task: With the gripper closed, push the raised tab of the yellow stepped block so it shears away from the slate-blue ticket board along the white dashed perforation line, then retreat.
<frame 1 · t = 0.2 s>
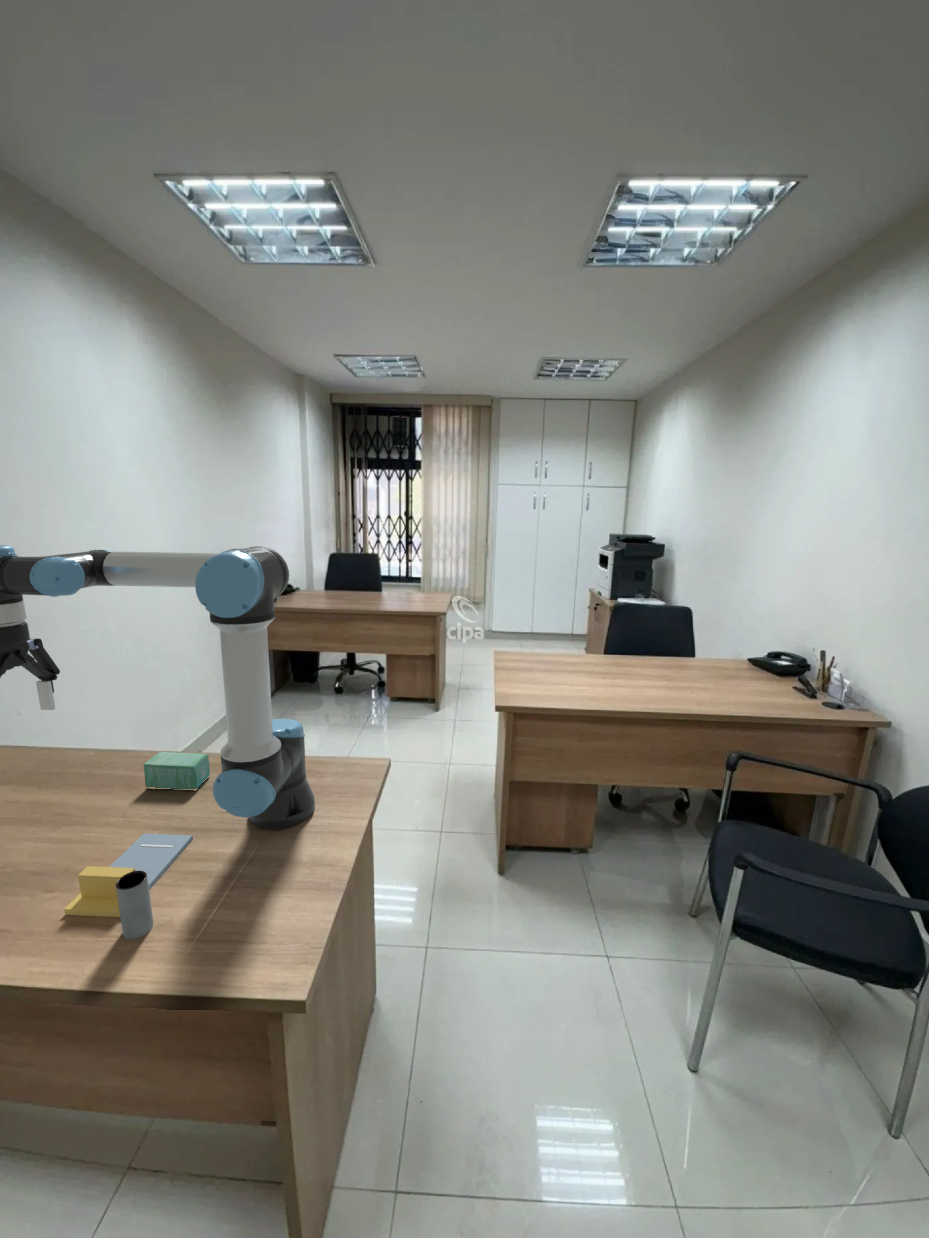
hand: (20, 722, 105), 28 cm above the table, fingers open, 13 cm apart
box: (179, 784, 134), on the table
ticket: (145, 864, 104), on the table
gray cylinder: (138, 931, 88), on the table
yellow stepped block: (104, 890, 93), point 3 cm above the table, slide at 0.0 cm
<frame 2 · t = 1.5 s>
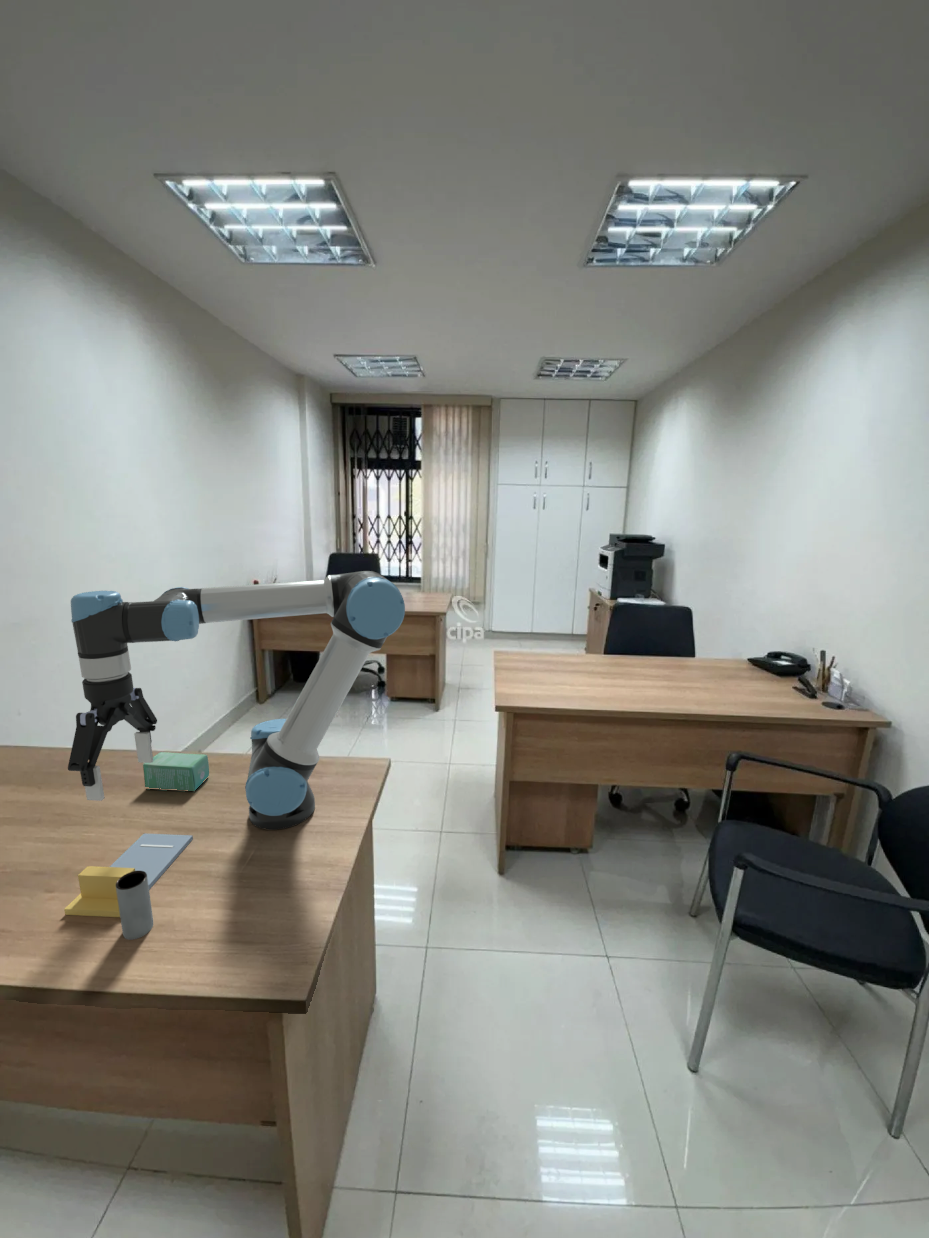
hand: (122, 779, 98), 21 cm above the table, fingers open, 13 cm apart
nothing on the table moved.
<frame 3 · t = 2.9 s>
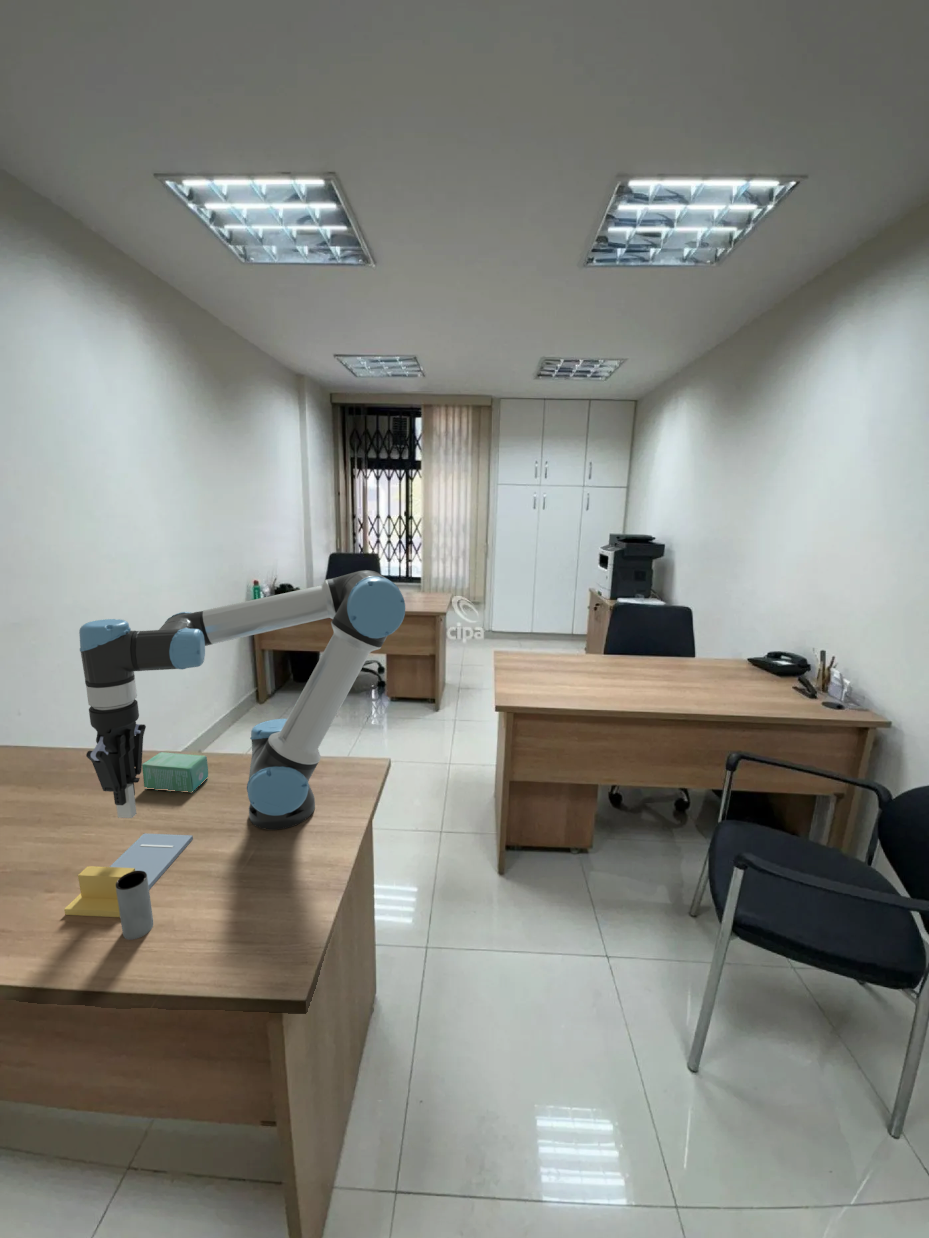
hand: (127, 815, 99), 13 cm above the table, fingers closed
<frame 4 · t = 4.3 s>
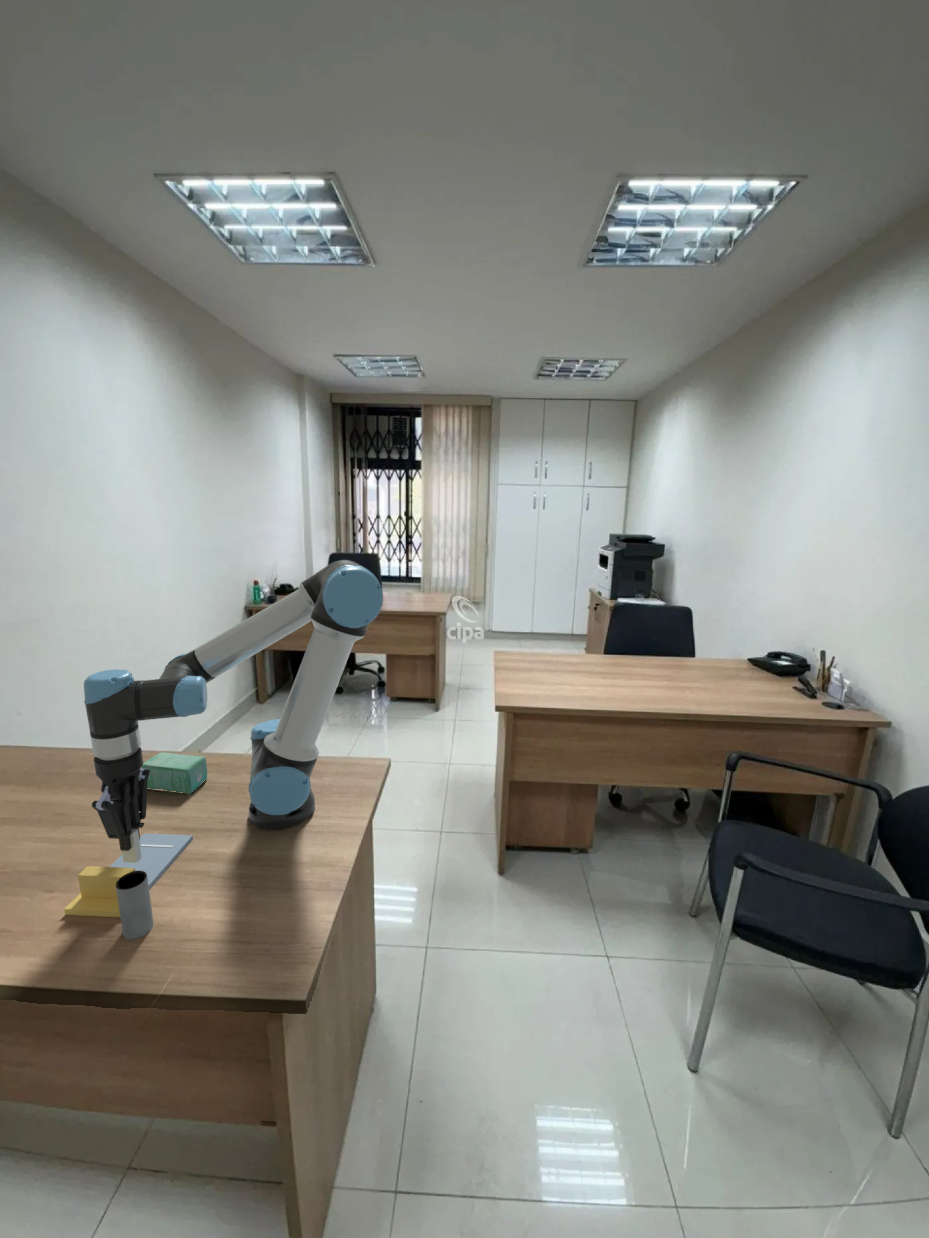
hand: (132, 859, 100), 3 cm above the table, fingers closed
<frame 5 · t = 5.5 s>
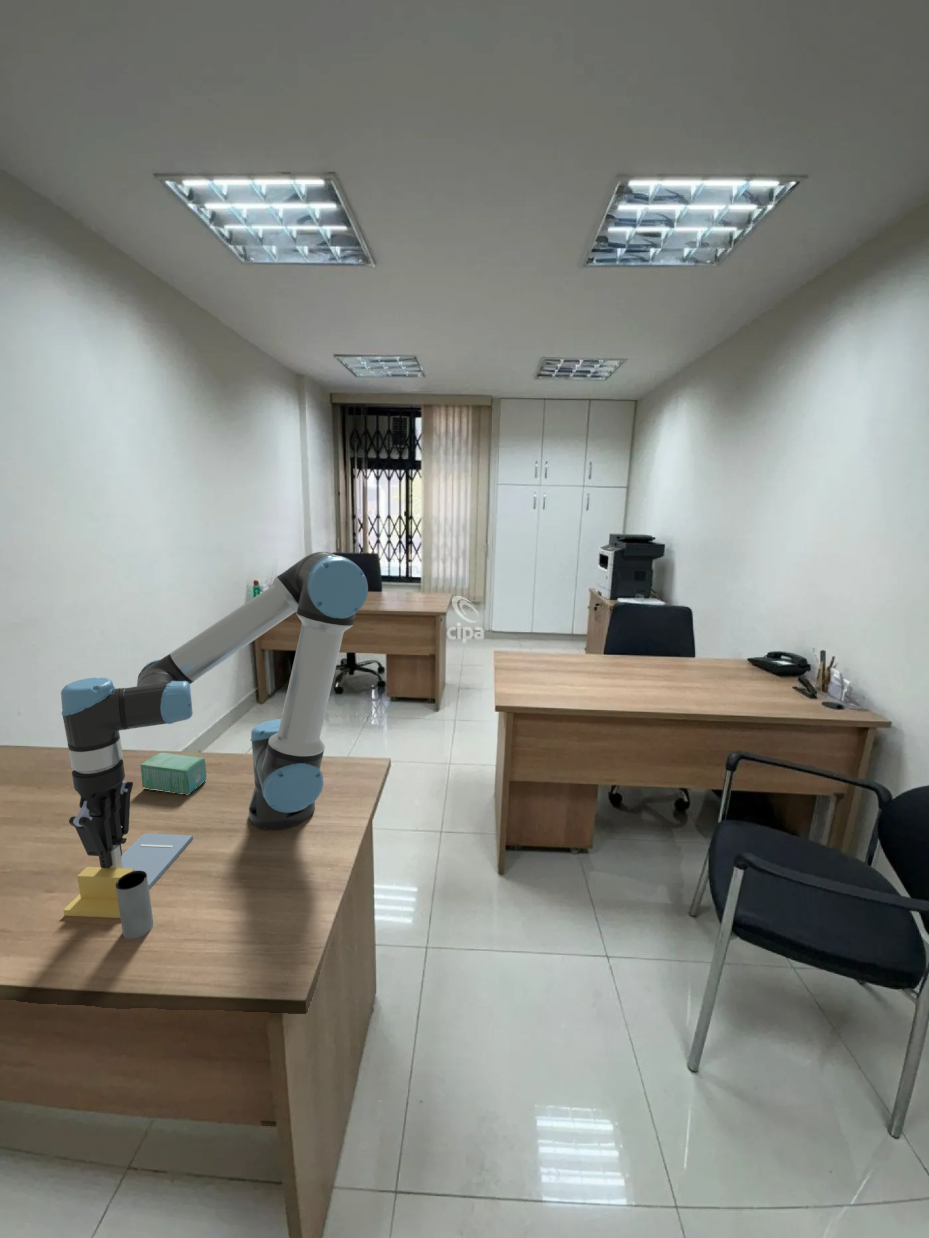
hand: (113, 877, 96), 4 cm above the table, fingers closed
yellow stepped block: (103, 891, 93), point 3 cm above the table, slide at 0.2 cm, touching gripper
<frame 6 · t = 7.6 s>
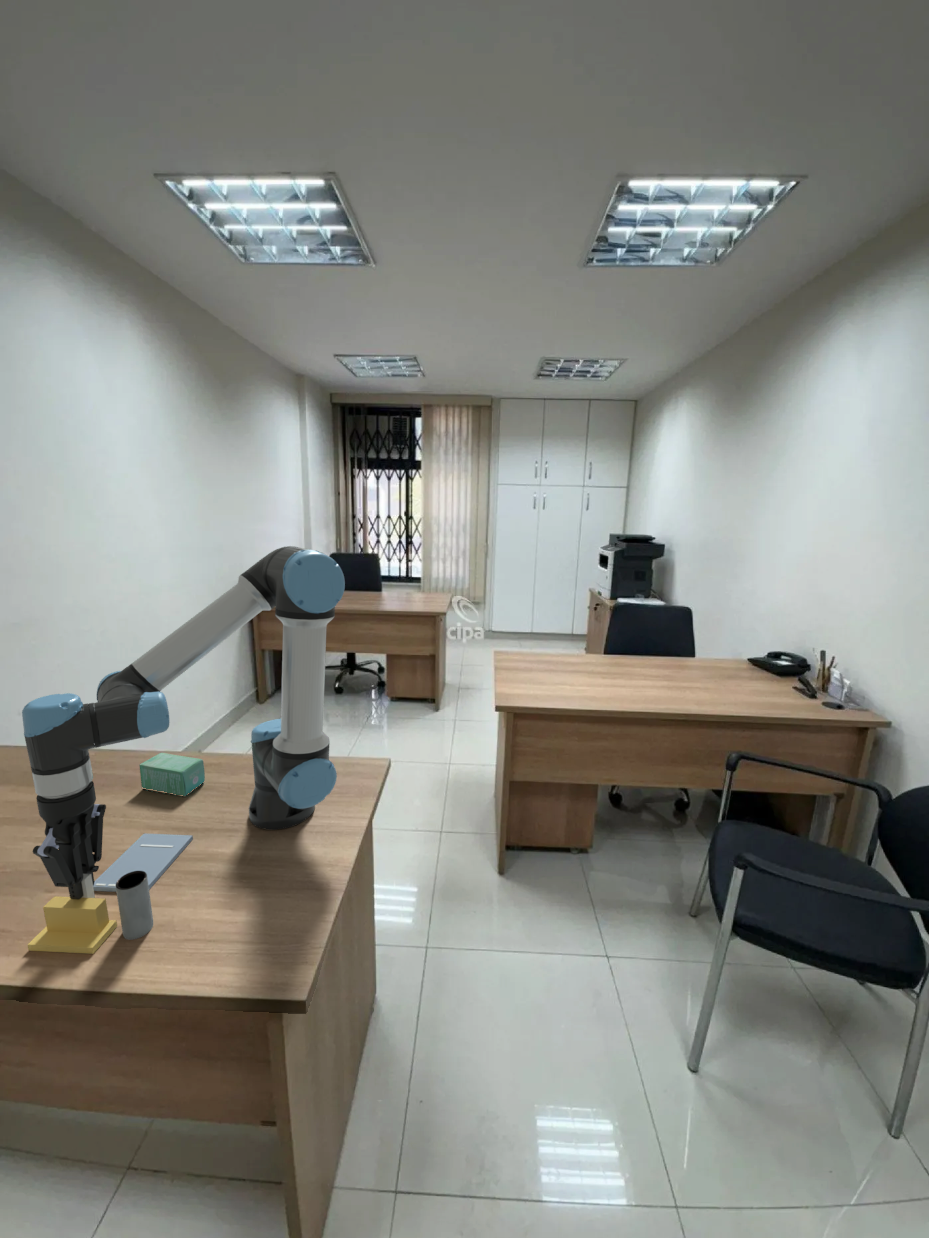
hand: (85, 908, 88), 3 cm above the table, fingers closed
yellow stepped block: (71, 923, 85), point 3 cm above the table, slide at 7.5 cm, touching gripper
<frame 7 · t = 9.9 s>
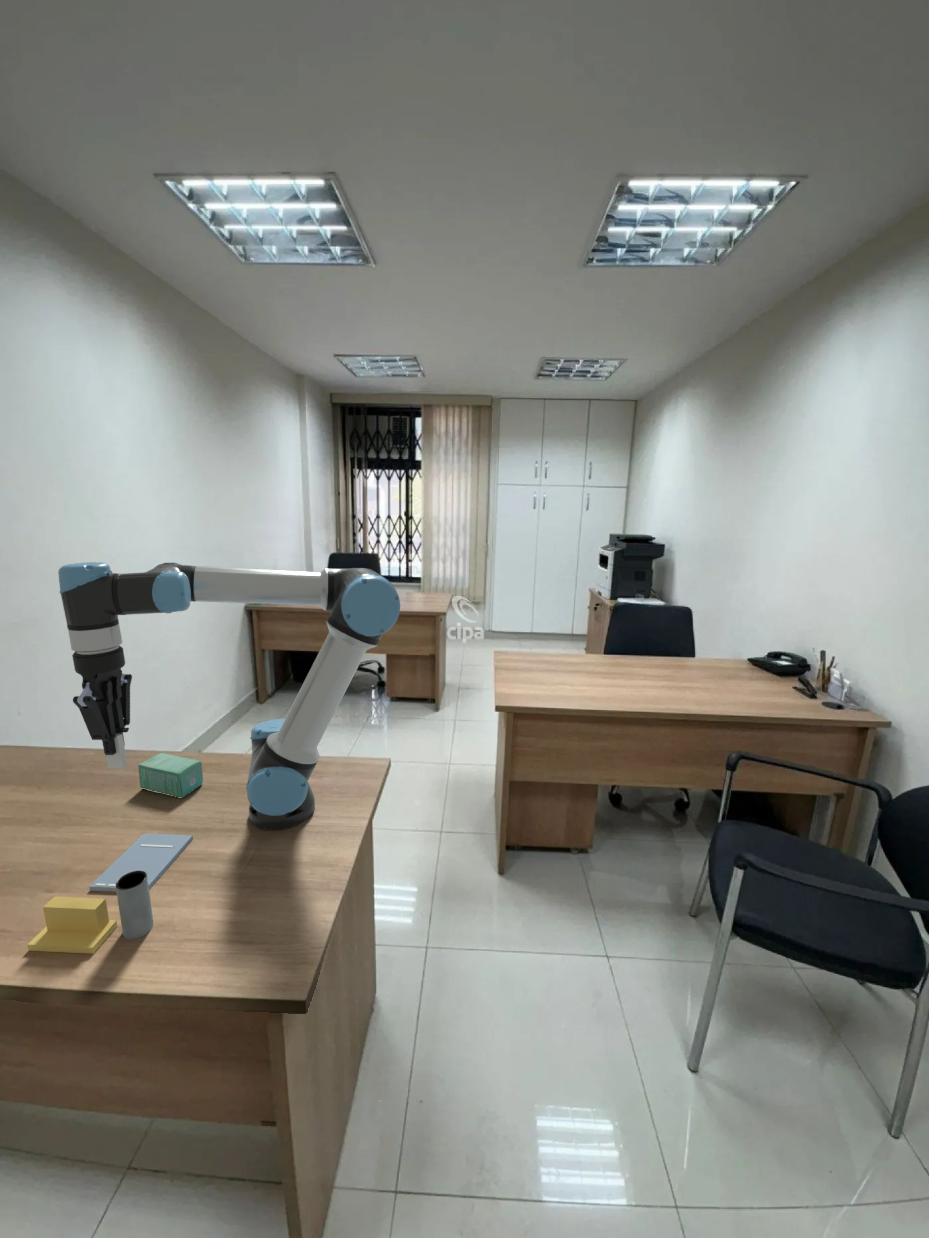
hand: (117, 766, 97), 24 cm above the table, fingers closed
yellow stepped block: (71, 923, 85), point 3 cm above the table, slide at 7.5 cm
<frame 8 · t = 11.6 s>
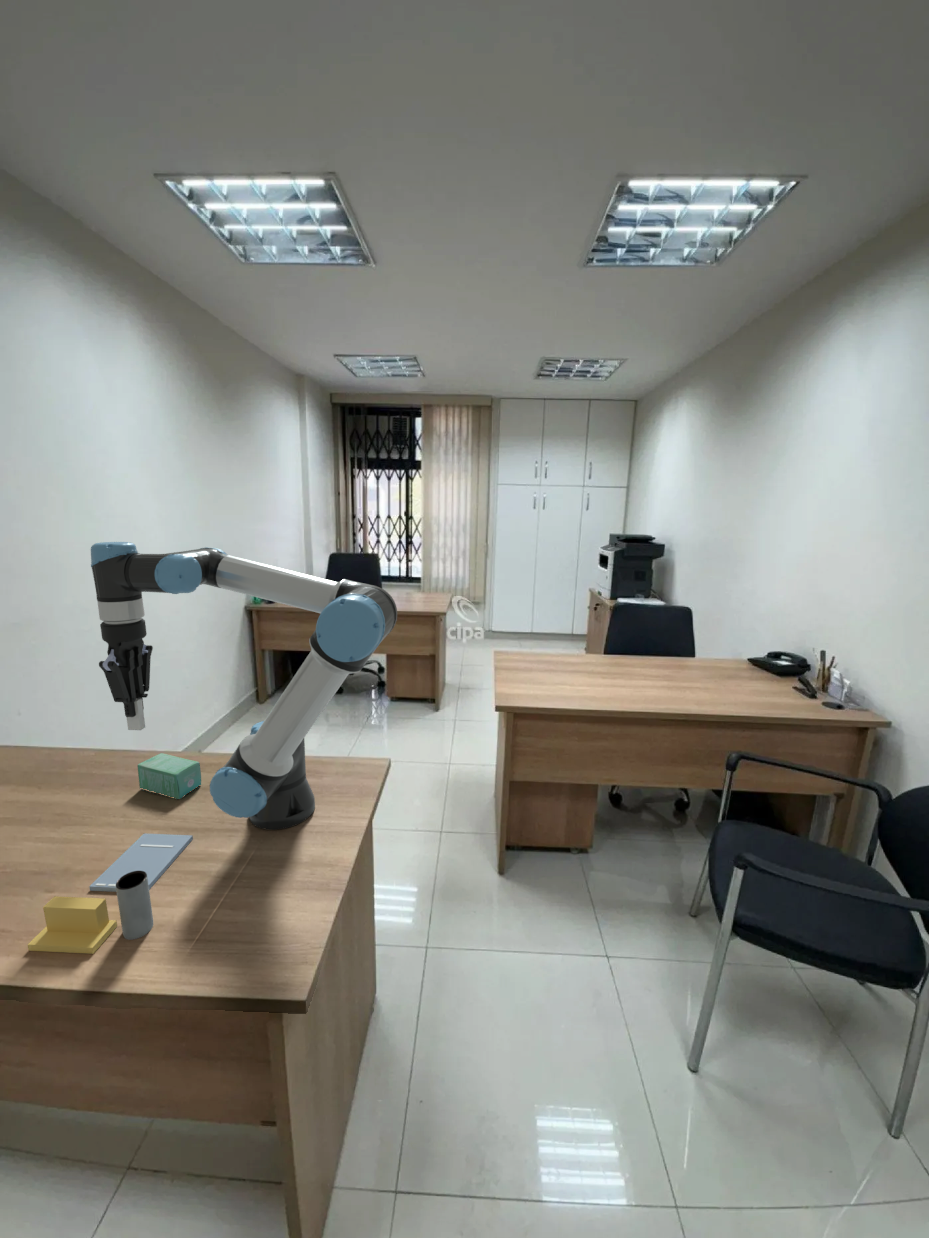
hand: (136, 728, 106), 26 cm above the table, fingers closed
at the end: yellow stepped block slide at 7.5 cm; yellow stepped block touching nothing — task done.
